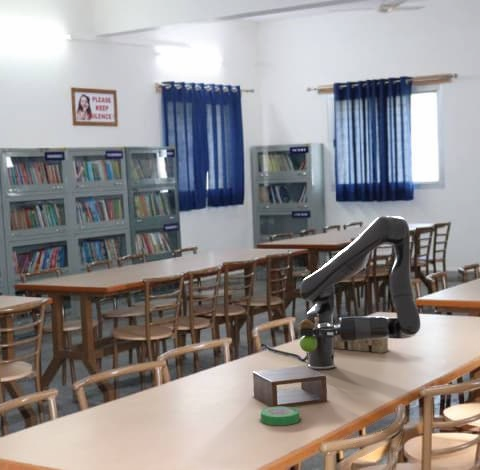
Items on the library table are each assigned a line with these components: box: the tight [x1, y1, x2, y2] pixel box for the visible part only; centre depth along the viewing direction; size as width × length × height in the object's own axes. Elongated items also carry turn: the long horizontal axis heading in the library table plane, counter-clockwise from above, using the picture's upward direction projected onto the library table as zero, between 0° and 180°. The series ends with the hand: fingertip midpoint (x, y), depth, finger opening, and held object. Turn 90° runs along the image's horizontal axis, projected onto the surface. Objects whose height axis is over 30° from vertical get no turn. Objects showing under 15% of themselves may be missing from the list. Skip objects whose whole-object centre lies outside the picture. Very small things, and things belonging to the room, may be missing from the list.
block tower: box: [333, 335, 389, 354], centre depth 367 cm, size 8×8×29 cm
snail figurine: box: [299, 314, 319, 352], centre depth 296 cm, size 5×6×12 cm
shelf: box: [252, 365, 328, 407], centre depth 293 cm, size 16×18×8 cm
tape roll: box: [260, 406, 300, 426], centre depth 270 cm, size 11×11×3 cm
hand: (300, 331), depth 296 cm, fingers closed on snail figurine
